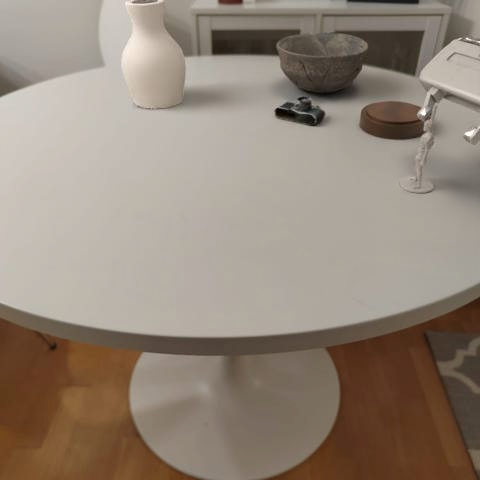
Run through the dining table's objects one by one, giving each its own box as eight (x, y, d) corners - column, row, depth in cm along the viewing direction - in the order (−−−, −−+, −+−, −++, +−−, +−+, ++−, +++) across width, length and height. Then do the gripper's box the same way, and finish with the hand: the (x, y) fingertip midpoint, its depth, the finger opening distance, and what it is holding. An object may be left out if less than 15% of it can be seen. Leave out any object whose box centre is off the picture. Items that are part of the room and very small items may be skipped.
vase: (200, 94, 109) (192, -4, 96) (167, 114, 100) (152, 9, 86) (151, 86, 114) (137, -8, 101) (115, 105, 105) (94, 4, 92)
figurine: (402, 175, 76) (419, 101, 68) (435, 180, 74) (456, 106, 66) (396, 189, 72) (413, 114, 64) (431, 195, 71) (452, 118, 63)
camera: (285, 109, 100) (286, 89, 97) (327, 119, 95) (329, 98, 92) (272, 116, 97) (273, 96, 94) (315, 127, 92) (317, 106, 89)
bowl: (322, 111, 98) (326, 61, 92) (257, 89, 110) (257, 44, 104) (380, 88, 108) (387, 41, 102) (315, 70, 120) (318, 27, 114)
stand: (414, 112, 96) (417, 98, 94) (436, 137, 86) (440, 122, 85) (353, 115, 96) (354, 100, 94) (368, 140, 86) (370, 125, 84)
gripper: (452, 19, 69) (388, 96, 73) (578, 48, 55) (492, 143, 59) (465, 47, 74) (405, 119, 77) (586, 81, 60) (505, 167, 63)
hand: (443, 129), depth 68 cm, fingers open, 8 cm apart
